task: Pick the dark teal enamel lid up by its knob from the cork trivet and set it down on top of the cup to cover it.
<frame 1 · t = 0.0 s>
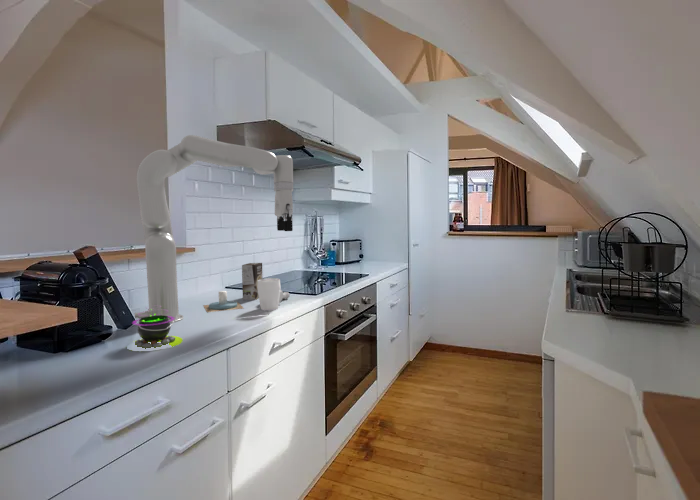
hand: (284, 230, 161), 31 cm above the countertop, tool pointing down, fingers open, 9 cm apart
lid: (223, 306, 164), point 1 cm above the countertop, touching trivet
cup: (269, 310, 160), on the countertop
toy cauldron: (155, 344, 118), on the countertop
trivet: (223, 308, 164), on the countertop
coffee box: (253, 299, 182), on the countertop
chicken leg: (277, 303, 174), on the countertop
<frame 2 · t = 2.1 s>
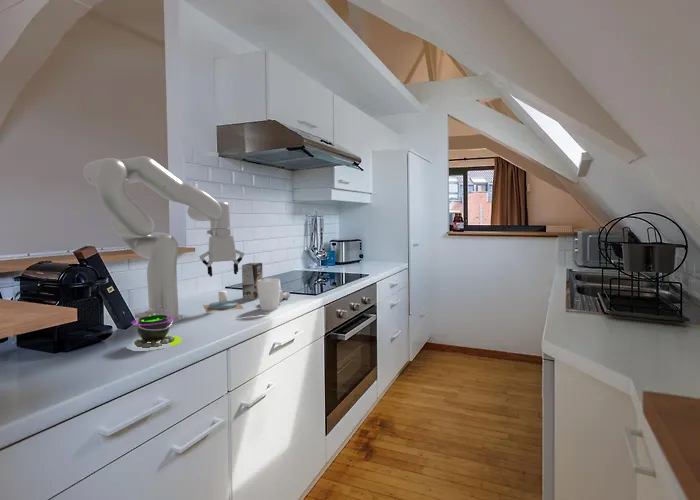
hand: (223, 275, 164), 14 cm above the countertop, tool pointing down, fingers open, 9 cm apart
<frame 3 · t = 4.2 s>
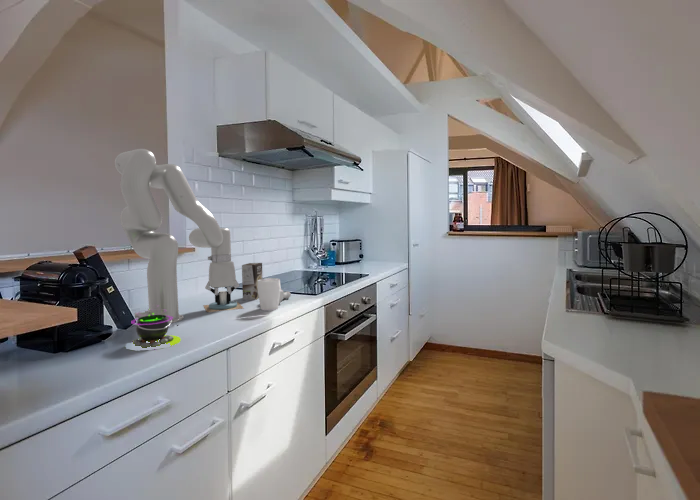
hand: (223, 303, 164), 2 cm above the countertop, tool pointing down, fingers closed on lid, 3 cm apart
lid: (223, 306, 164), point 1 cm above the countertop, touching gripper, trivet
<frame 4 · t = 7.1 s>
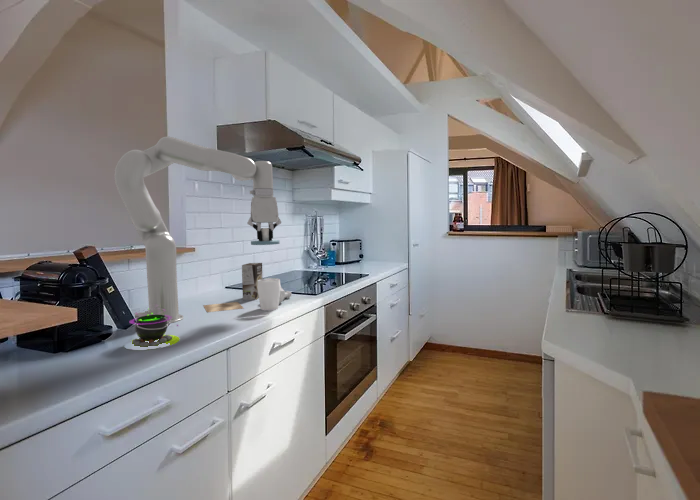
hand: (265, 240, 158), 28 cm above the countertop, tool pointing down, fingers closed on lid, 3 cm apart
lid: (265, 243, 159), point 26 cm above the countertop, touching gripper
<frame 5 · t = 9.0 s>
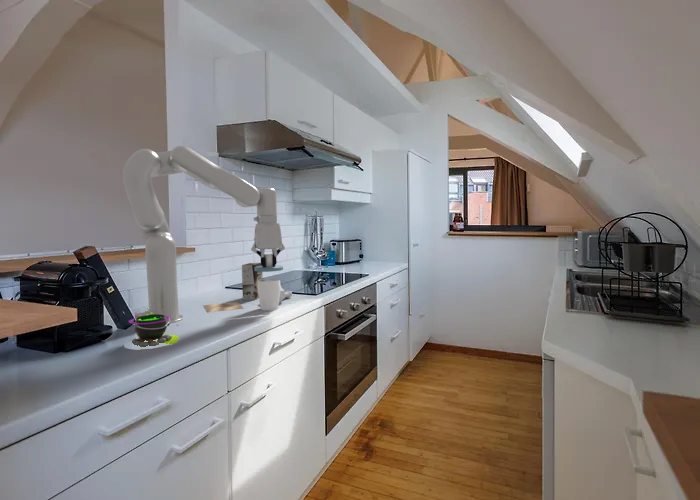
hand: (268, 266, 159), 17 cm above the countertop, tool pointing down, fingers closed on lid, 3 cm apart
lid: (268, 269, 159), point 16 cm above the countertop, touching gripper
when the fingers open (15 cm above the countertop, at t = 10.3 s): lid drops 1 cm, resting on cup.
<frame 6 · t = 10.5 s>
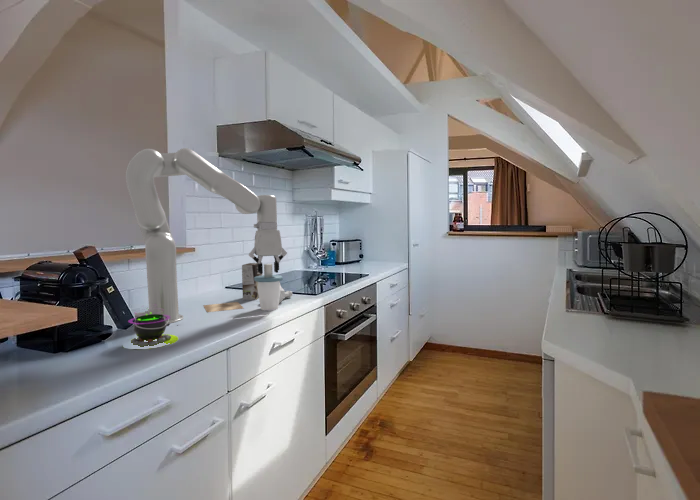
hand: (268, 272, 159), 15 cm above the countertop, tool pointing down, fingers open, 5 cm apart
lid: (268, 279, 159), point 12 cm above the countertop, touching cup
cup: (269, 310, 160), on the countertop, touching lid
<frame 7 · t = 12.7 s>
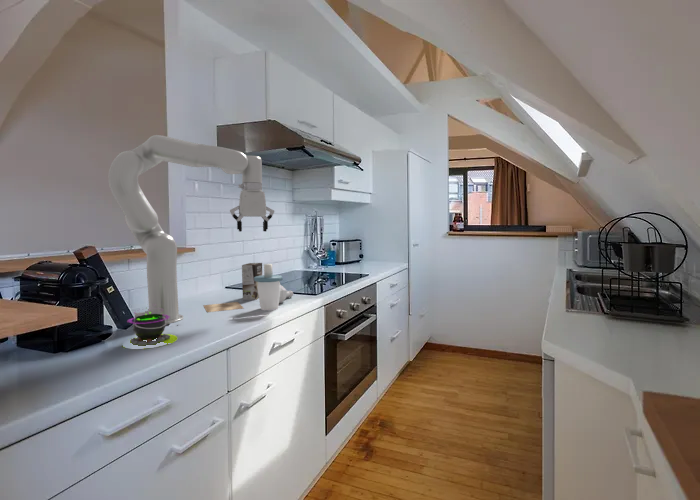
hand: (252, 231, 160), 31 cm above the countertop, tool pointing down, fingers open, 9 cm apart
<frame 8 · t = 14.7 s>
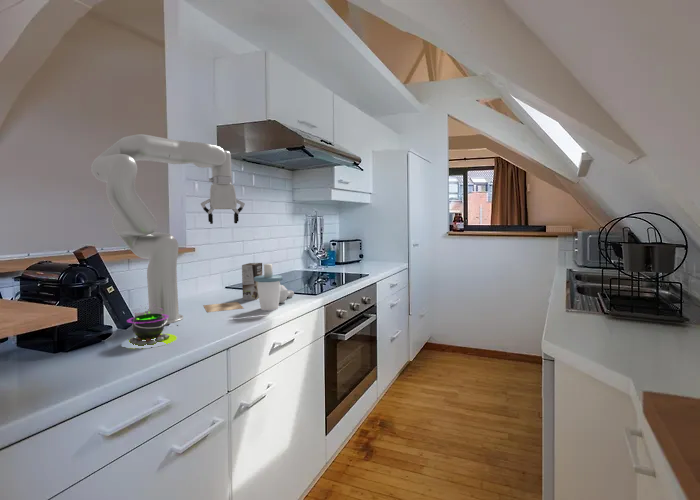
hand: (223, 223, 166), 34 cm above the countertop, tool pointing down, fingers open, 9 cm apart
at the end: lid 0.1 cm off-centre on the cup, point 12.2 cm above the cup's base; lid tilted 0°; cup moved 0.2 cm from its start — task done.
